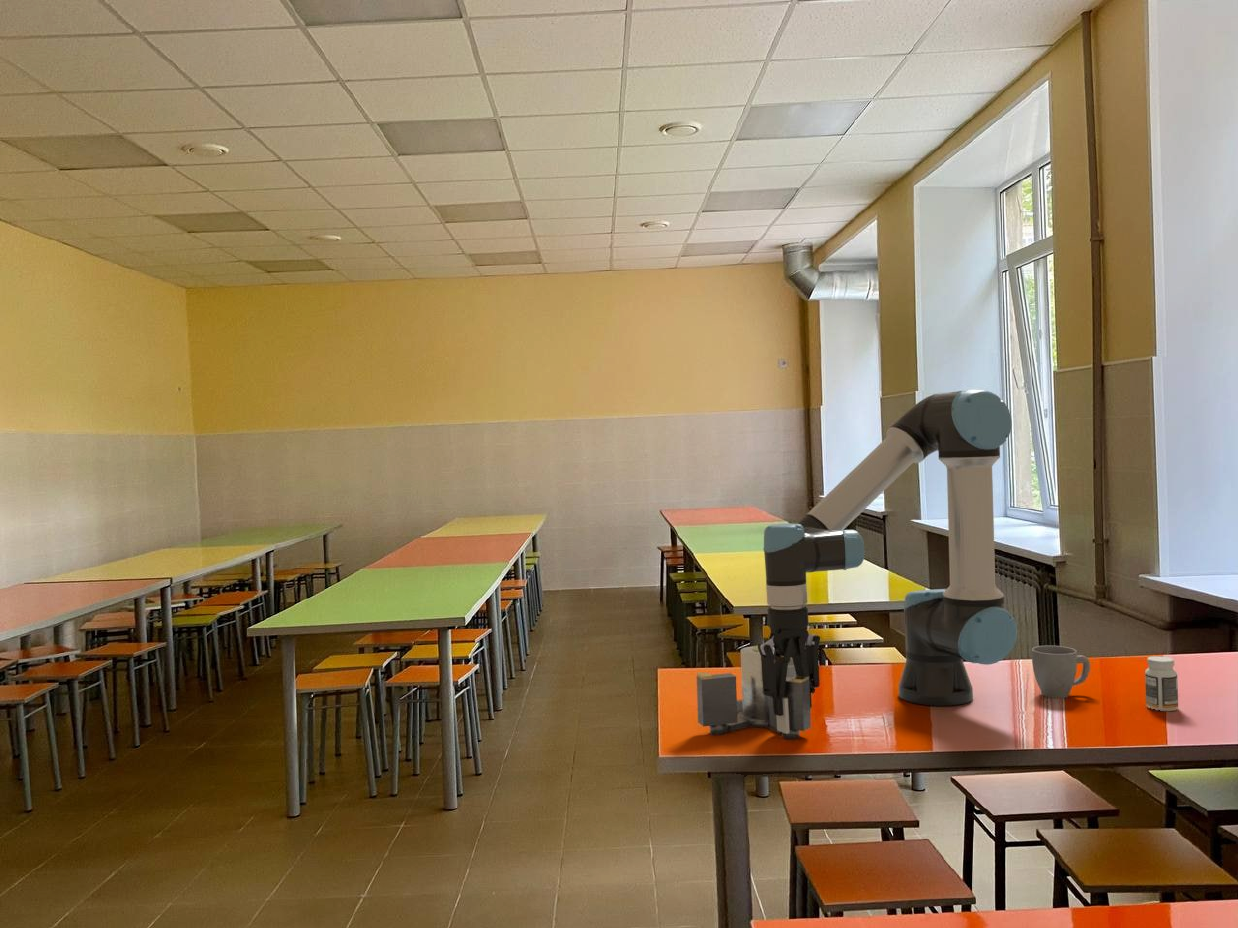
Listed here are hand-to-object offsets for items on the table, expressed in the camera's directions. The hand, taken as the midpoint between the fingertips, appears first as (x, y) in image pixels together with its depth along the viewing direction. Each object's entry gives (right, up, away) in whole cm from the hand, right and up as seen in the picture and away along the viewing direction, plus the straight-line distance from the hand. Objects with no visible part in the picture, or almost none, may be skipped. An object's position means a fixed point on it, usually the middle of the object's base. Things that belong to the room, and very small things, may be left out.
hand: (793, 729), depth 187 cm
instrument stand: (-4, -2, +11) cm, 12 cm away
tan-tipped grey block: (-14, -2, +5) cm, 15 cm away
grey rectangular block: (0, -2, 0) cm, 2 cm away
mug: (+61, +1, +23) cm, 65 cm away
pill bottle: (+75, +1, +10) cm, 76 cm away
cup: (+2, -1, +24) cm, 24 cm away
